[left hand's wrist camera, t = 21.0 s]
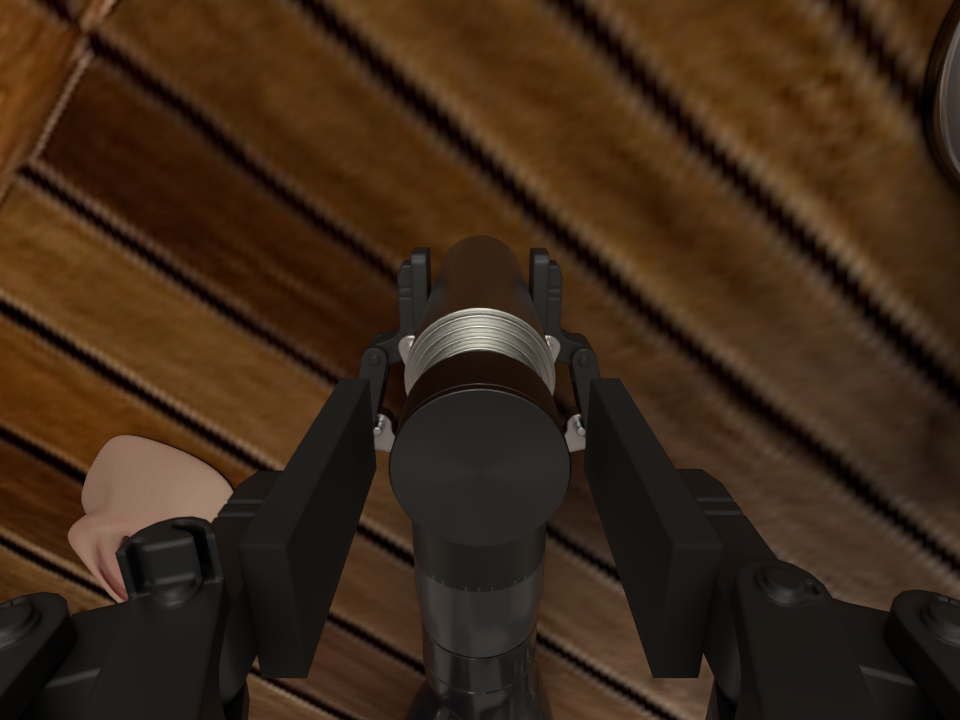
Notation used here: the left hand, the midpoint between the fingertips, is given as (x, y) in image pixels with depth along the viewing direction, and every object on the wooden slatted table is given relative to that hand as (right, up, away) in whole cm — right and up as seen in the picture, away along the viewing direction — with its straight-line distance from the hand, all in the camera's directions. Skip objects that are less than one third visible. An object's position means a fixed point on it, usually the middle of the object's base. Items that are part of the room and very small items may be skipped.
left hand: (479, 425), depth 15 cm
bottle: (0, +7, +18) cm, 19 cm away
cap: (0, -1, -2) cm, 2 cm away
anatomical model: (-22, -10, +24) cm, 34 cm away
